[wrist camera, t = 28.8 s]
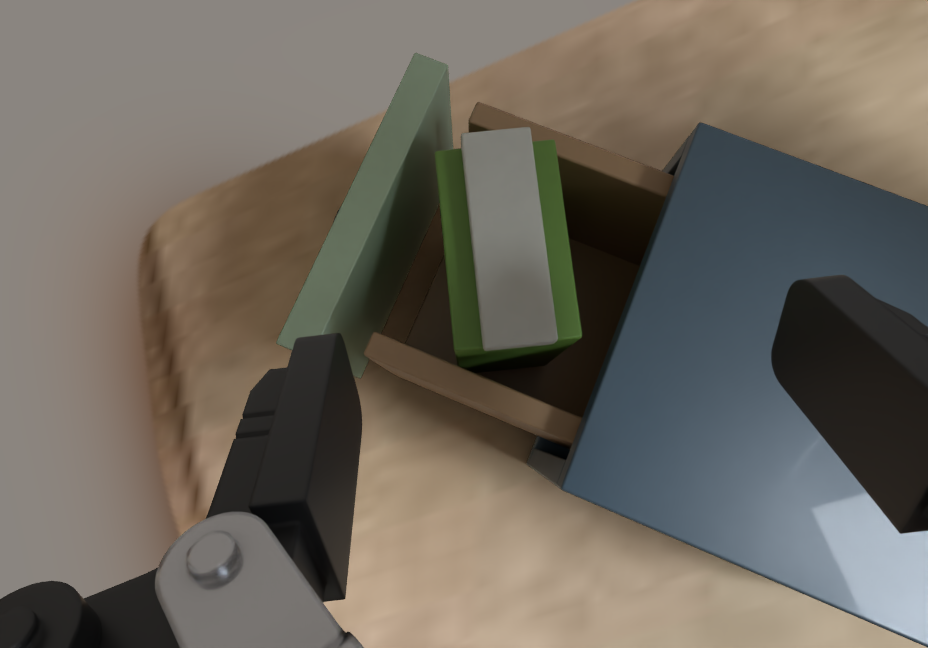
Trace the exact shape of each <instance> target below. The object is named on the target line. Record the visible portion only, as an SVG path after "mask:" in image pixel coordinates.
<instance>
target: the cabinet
mask: <svg viewBox="0 0 928 648" xmlns="http://www.w3.org/2000/svg"><path fill="white" fill-rule="evenodd" d="M662 172H665V173H668V174H670V175H673V176H674V178H673V180H672V183H671V186H670V188H669V191H668V194H667V196H666V199H665V201H664V204H663V207H662V209H661V212H660V215H659V217H658V220H657V223H656V225H655V228H654V230H653V233H652V236H651V238H650V241H649V244H648V246H647V249H646V251H645V254H644V257H643V259H642V262H641V265H640V267H639V270H638V273H637V275H636V278H635V280H634V283H633V286H632V288H631V291H630V294H629V296H628V299H627V301H626V304H625V307H624V309H623V312H622V315H621V317H620V320H619V323H618V325H617V328H616V330H615V333H614V336H613V338H612V341H611V344H610V346H609V349H608V351H607V354H606V357H605V359H604V362H603V365H602V367H601V370H600V373H599V375H598V378H597V380H596V383H595V386H594V388H593V391H592V394H591V396H590V399H589V401H588V404H587V407H586V409H585V412H584V415H583V417H582V420H581V423H580V425H579V428H578V430H577V433H576V436H575V438H574V441H573V444H572V446H571V449H568V448H565V447H563V446H561V445H558V444H556V443H554V442H551V441H549V440H547V439H544V438H542V437H539V436H537V437H536V440H535V443H534V445H533V448H532V450H531V453H530V455H529V458H528V460H527V465H528V466H530V467H531V468H532V469H534V470H535V471H537V472H538V473H539V474H541V475H542V476H543V477H545V478H546V479H548V480H549V481H550V482H552V483H553V484H555V485H556V486H557V487H559V488H560V489H561V490H563V491H565V492H567V493H570V494H572V495H574V496H577V497H579V498H581V499H584V500H586V501H588V502H591V503H593V504H595V505H598V506H600V507H602V508H605V509H607V510H609V511H612V512H614V513H616V514H619V515H621V516H623V517H626V518H628V519H630V520H633V521H635V522H637V523H640V524H642V525H644V526H647V527H649V528H651V529H654V530H656V531H658V532H661V533H663V534H665V535H668V536H670V537H672V538H675V539H677V540H679V541H681V542H684V543H686V544H688V545H691V546H693V547H695V548H698V549H700V550H702V551H705V552H707V553H709V554H712V555H714V556H716V557H719V558H721V559H723V560H726V561H728V562H730V563H733V564H735V565H737V566H740V567H742V568H744V569H747V570H749V571H751V572H754V573H756V574H758V575H761V576H763V577H765V578H768V579H770V580H772V581H775V582H777V583H779V584H782V585H784V586H786V587H789V588H791V589H793V590H796V591H798V592H800V593H803V594H805V595H807V596H810V597H812V598H814V599H816V600H819V601H821V602H823V603H826V604H828V605H830V606H833V607H835V608H837V609H840V610H842V611H844V612H847V613H849V614H851V615H854V616H856V617H858V618H861V619H863V620H865V621H868V622H870V623H872V624H875V625H877V626H879V627H882V628H884V629H886V630H889V631H891V632H893V633H896V634H898V635H900V636H903V637H905V638H907V639H910V640H912V641H914V642H917V643H919V644H921V645H924V646H926V647H928V531H920V532H911V533H903V534H900V533H899V532H898V530H897V529H896V528H895V527H894V525H893V524H892V523H891V522H890V520H889V519H888V518H887V517H886V515H885V514H884V513H883V512H882V510H881V509H880V508H879V507H878V505H877V504H876V503H875V502H874V500H873V499H872V498H871V497H870V495H869V494H868V493H867V492H866V490H865V489H864V488H863V487H862V485H861V484H860V483H859V482H858V480H857V479H856V478H855V477H854V476H853V474H852V473H851V472H850V471H849V469H848V468H847V467H846V466H845V464H844V463H843V462H842V461H841V459H840V458H839V457H838V456H837V454H836V453H835V452H834V451H833V449H832V448H831V447H830V446H829V444H828V443H827V442H826V441H825V439H824V438H823V437H822V436H821V434H820V433H819V432H818V431H817V429H816V428H815V427H814V426H813V424H812V423H811V422H810V421H809V419H808V418H807V417H806V416H805V415H804V413H803V412H802V411H801V410H800V408H799V407H798V406H797V405H796V403H795V402H794V401H793V400H792V398H791V397H790V396H789V395H788V393H787V392H786V391H785V390H784V388H783V387H782V386H781V385H780V383H779V382H778V380H777V378H776V376H775V374H774V371H773V368H772V362H771V351H772V346H773V343H774V339H775V335H776V332H777V328H778V325H779V321H780V317H781V314H782V310H783V307H784V303H785V299H786V296H787V292H788V290H789V288H790V286H791V285H792V283H793V282H795V281H796V280H800V279H808V278H817V277H825V276H834V275H846V276H848V277H850V278H851V279H853V280H854V281H855V282H856V283H858V284H859V285H860V286H861V287H863V288H864V289H865V290H866V291H868V292H869V293H870V294H871V295H872V296H874V297H875V298H876V299H879V300H881V301H884V302H886V303H888V304H890V305H892V306H894V307H897V308H899V309H901V310H903V311H905V312H908V313H910V314H912V315H913V316H914V317H915V318H917V319H918V320H919V321H921V322H922V323H923V324H924V325H926V326H927V327H928V206H926V205H923V204H920V203H918V202H915V201H912V200H909V199H907V198H904V197H901V196H899V195H896V194H893V193H891V192H888V191H885V190H882V189H880V188H877V187H874V186H872V185H869V184H866V183H864V182H861V181H858V180H855V179H853V178H850V177H847V176H845V175H842V174H839V173H837V172H834V171H831V170H828V169H826V168H823V167H820V166H818V165H815V164H812V163H809V162H807V161H804V160H801V159H799V158H796V157H793V156H791V155H788V154H785V153H782V152H780V151H777V150H774V149H772V148H769V147H766V146H764V145H761V144H758V143H755V142H753V141H750V140H747V139H745V138H742V137H739V136H737V135H734V134H731V133H728V132H726V131H723V130H720V129H718V128H715V127H712V126H710V125H707V124H704V123H699V124H698V125H697V126H696V127H695V129H694V130H693V131H692V133H691V134H690V136H688V138H687V139H686V140H685V142H684V143H683V144H682V146H681V147H680V148H679V149H678V151H677V152H676V153H675V155H674V156H673V157H672V159H671V160H670V161H669V163H668V164H667V165H666V167H665V168H664V169H663V170H662Z"/></svg>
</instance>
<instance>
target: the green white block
mask: <svg viewBox="0 0 928 648" xmlns="http://www.w3.org/2000/svg"><path fill="white" fill-rule="evenodd" d="M435 163H436V173H437V183H438V193H439V203H440V214H441V224H442V234H443V244H444V254H445V264H446V274H447V284H448V294H449V304H450V314H451V324H452V334H453V345H454V351H455V356H456V361H457V365H458V366H459V367H461V368H464V369H466V370H469V371H471V372H473V373H479V372H489V371H499V370H508V369H518V368H528V367H538V366H545V365H547V364H548V363H549V362H550V361H552V360H553V359H554V358H556V357H557V356H558V355H560V354H561V353H562V352H563V351H565V350H566V349H567V348H569V347H570V346H571V345H573V344H574V343H575V342H576V341H578V340H579V339H580V338H582V330H581V323H580V316H579V308H578V301H577V294H576V287H575V280H574V272H573V265H572V258H571V251H570V244H569V236H568V229H567V222H566V215H565V208H564V200H563V193H562V186H561V179H560V172H559V164H558V157H557V150H556V143H555V140H553V139H552V140H542V141H532V136H531V129H530V128H529V127H521V128H511V129H501V130H491V131H481V132H471V133H463V134H461V149H451V150H441V151H436V152H435Z"/></svg>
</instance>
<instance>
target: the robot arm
mask: <svg viewBox="0 0 928 648" xmlns="http://www.w3.org/2000/svg"><path fill="white" fill-rule="evenodd" d="M771 362H772V368H773V371H774V374H775V376H776V378H777V380H778V382H779V383H780V385H781V386H782V387H783V388H784V390H785V391H786V392H787V393H788V395H789V396H790V397H791V398H792V400H793V401H794V402H795V403H796V405H797V406H798V407H799V408H800V410H801V411H802V412H803V413H804V415H805V416H806V417H807V418H808V419H809V421H810V422H811V423H812V424H813V426H814V427H815V428H816V429H817V431H818V432H819V433H820V434H821V436H822V437H823V438H824V439H825V441H826V442H827V443H828V444H829V446H830V447H831V448H832V449H833V451H834V452H835V453H836V454H837V456H838V457H839V458H840V459H841V461H842V462H843V463H844V464H845V466H846V467H847V468H848V469H849V471H850V472H851V473H852V474H853V476H854V477H855V478H856V479H857V480H858V482H859V483H860V484H861V485H862V487H863V488H864V489H865V490H866V492H867V493H868V494H869V495H870V497H871V498H872V499H873V500H874V502H875V503H876V504H877V505H878V507H879V508H880V509H881V510H882V512H883V513H884V514H885V515H886V517H887V518H888V519H889V520H890V522H891V523H892V524H893V525H894V527H895V528H896V529H897V530H898V532H899V533H900V534H903V533H911V532H920V531H928V327H927V326H926V325H924V324H923V323H922V322H921V321H919V320H918V319H917V318H915V317H914V316H913V315H912V314H910V313H908V312H905V311H903V310H901V309H899V308H897V307H894V306H892V305H890V304H888V303H886V302H884V301H881V300H879V299H876V298H875V297H874V296H872V295H871V294H870V293H869V292H868V291H866V290H865V289H864V288H863V287H861V286H860V285H859V284H858V283H856V282H855V281H854V280H853V279H851V278H850V277H848V276H846V275H834V276H825V277H817V278H808V279H800V280H796V281H795V282H793V283H792V285H791V286H790V288H789V290H788V292H787V296H786V299H785V303H784V307H783V310H782V314H781V317H780V321H779V325H778V328H777V332H776V335H775V339H774V343H773V346H772V351H771ZM242 415H243V419H241V420H240V423H239V426H238V429H237V432H236V439H234V440H233V443H232V446H231V449H230V452H229V455H228V457H227V460H226V463H225V466H224V469H223V472H222V475H221V478H220V480H219V483H218V486H217V489H216V492H215V495H214V498H213V501H212V503H211V506H210V509H209V512H208V515H207V517H206V519H205V520H203V521H201V522H199V523H197V524H196V525H194V526H193V527H191V528H190V529H188V530H187V531H186V532H184V533H183V534H182V535H181V536H180V537H179V538H178V539H177V540H176V541H175V542H174V543H173V544H172V545H171V547H170V548H169V549H168V551H167V552H166V553H165V555H164V557H163V559H162V560H161V562H160V564H159V567H158V568H156V569H155V570H152V571H150V572H148V573H146V574H144V575H141V576H139V577H137V578H134V579H132V580H129V581H126V582H124V583H122V584H119V585H117V586H114V587H112V588H109V589H107V590H104V591H102V592H99V593H97V594H94V595H92V596H89V597H87V598H84V599H83V598H82V597H81V596H80V594H79V593H78V592H77V591H76V590H75V589H74V588H73V587H72V586H70V585H68V584H66V583H63V582H57V581H48V582H40V583H36V584H32V585H29V586H26V587H24V588H21V589H18V590H16V591H15V592H12V593H10V594H8V595H7V596H5V597H3V598H2V599H0V648H364V647H363V646H362V645H361V644H360V642H359V641H358V640H357V639H356V638H355V637H354V636H353V635H352V634H351V633H350V632H347V633H346V632H344V631H343V629H342V628H341V627H340V626H339V625H338V623H337V622H336V620H335V619H334V618H333V616H332V615H331V613H330V612H329V611H328V609H327V608H326V606H325V605H324V604H323V602H325V601H334V600H342V599H345V595H346V585H347V575H348V565H349V555H350V545H351V535H352V525H353V515H354V505H355V495H356V485H357V475H358V465H359V455H360V445H361V435H362V413H361V405H360V399H359V395H358V391H357V387H356V384H355V380H354V376H353V372H352V369H351V365H350V361H349V357H348V354H347V350H346V346H345V343H344V340H343V337H342V335H341V334H340V333H332V334H324V335H316V336H307V337H299V338H297V339H296V340H295V343H294V346H293V349H292V353H291V356H290V360H289V364H288V367H287V368H279V369H270V370H269V371H268V372H267V373H266V374H265V375H264V376H263V378H262V379H261V380H260V381H259V382H258V383H257V384H256V386H255V387H254V388H253V389H252V390H251V391H250V394H249V397H248V400H247V403H246V406H245V409H244V411H243V414H242Z"/></svg>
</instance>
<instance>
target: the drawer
mask: <svg viewBox="0 0 928 648" xmlns="http://www.w3.org/2000/svg"><path fill="white" fill-rule="evenodd" d="M521 127H529V128H530V129H531V136H532V141H542V140H552V139H553V140H555V143H556V150H557V157H558V164H559V172H560V179H561V186H562V193H563V200H564V208H565V215H566V222H567V229H568V236H569V244H570V251H571V258H572V265H573V272H574V280H575V287H576V294H577V301H578V308H579V316H580V323H581V330H582V338H580V339H579V340H578V341H576V342H575V343H574V344H573V345H571V346H570V347H569V348H567V349H566V350H565V351H563V352H562V353H561V354H560V355H558V356H557V357H556V358H554V359H553V360H552V361H550V362H549V363H548V364H547V365H545V366H538V367H528V368H518V369H508V370H499V371H489V372H479V373H473V372H471V371H469V370H466V369H464V368H461V367H459V366H458V365H457V361H456V356H455V351H454V345H453V334H452V324H451V314H450V304H449V294H448V284H447V274H446V264H445V254H444V256H443V258H442V261H441V263H440V265H439V268H438V270H437V272H436V274H435V277H434V279H433V281H432V283H431V286H430V288H429V290H428V293H427V295H426V297H425V299H424V302H423V304H422V306H421V308H420V311H419V313H418V315H417V317H416V320H415V322H414V324H413V327H412V329H411V331H410V333H409V336H408V338H407V340H406V342H405V344H404V343H402V342H399V341H397V340H394V339H392V338H390V337H387V336H385V335H382V334H381V332H382V330H383V328H384V326H385V324H386V321H387V319H388V317H389V315H390V312H391V310H392V308H393V306H394V303H395V301H396V299H397V297H398V295H399V292H400V290H401V288H402V286H403V283H404V281H405V279H406V277H407V275H408V272H409V270H410V268H411V266H412V263H413V261H414V259H415V257H416V254H417V252H418V250H419V248H420V246H421V243H422V241H423V239H424V237H425V234H426V232H427V230H428V228H429V226H430V223H431V221H432V219H433V217H434V214H435V212H436V210H437V208H438V206H439V193H438V183H437V173H436V163H435V152H436V151H441V150H451V149H453V139H452V122H451V106H450V90H449V74H448V65H447V64H444V63H441V62H439V61H436V60H434V59H431V58H428V57H426V56H423V55H420V54H418V53H415V54H414V56H413V58H412V60H411V62H410V64H409V66H408V68H407V70H406V72H405V74H404V76H403V79H402V81H401V83H400V85H399V87H398V89H397V91H396V93H395V95H394V97H393V100H392V102H391V104H390V106H389V108H388V110H387V112H386V114H385V116H384V118H383V120H382V122H381V124H380V127H379V129H378V131H377V133H376V135H375V137H374V139H373V141H372V143H371V145H370V147H369V150H368V152H367V154H366V156H365V158H364V160H363V162H362V164H361V166H360V168H359V170H358V173H357V175H356V177H355V179H354V181H353V183H352V185H351V187H350V189H349V191H348V193H347V195H346V198H345V200H344V202H343V204H342V206H341V207H340V209H339V210H338V212H337V214H336V216H335V219H334V222H333V225H332V227H331V229H330V231H329V233H328V235H327V237H326V239H325V241H324V243H323V246H322V248H321V250H320V252H319V254H318V256H317V258H316V260H315V262H314V264H313V266H312V269H311V271H310V273H309V275H308V277H307V279H306V281H305V283H304V285H303V287H302V289H301V291H300V294H299V296H298V298H297V300H296V302H295V304H294V306H293V308H292V310H291V312H290V314H289V317H288V319H287V321H286V323H285V325H284V327H283V329H282V331H281V333H280V335H279V337H278V339H277V342H276V343H277V344H278V345H280V346H283V347H285V348H287V349H290V350H292V349H293V346H294V343H295V340H296V339H297V338H299V337H307V336H316V335H324V334H332V333H340V334H341V335H342V337H343V340H344V343H345V346H346V350H347V354H348V357H349V361H350V365H351V369H352V372H353V376H355V377H358V378H361V377H362V375H363V372H364V370H365V368H366V366H367V364H368V361H369V359H371V360H372V361H374V362H375V363H377V364H378V365H380V366H382V367H383V368H385V369H386V370H388V371H389V372H391V373H392V374H394V375H395V376H398V377H400V378H403V379H405V380H407V381H410V382H412V383H414V384H417V385H419V386H421V387H424V388H426V389H428V390H431V391H433V392H436V393H438V394H440V395H443V396H445V397H447V398H450V399H452V400H454V401H457V402H459V403H462V404H464V405H466V406H469V407H471V408H473V409H476V410H478V411H480V412H483V413H485V414H488V415H490V416H492V417H495V418H497V419H499V420H502V421H504V422H506V423H509V424H511V425H514V426H516V427H518V428H521V429H523V430H525V431H528V432H530V433H532V434H535V435H537V436H539V437H542V438H544V439H547V440H549V441H551V442H554V443H556V444H558V445H561V446H563V447H565V448H568V449H571V446H572V444H573V441H574V438H575V436H576V433H577V430H578V428H579V425H580V423H581V420H582V417H583V415H584V412H585V409H586V407H587V404H588V401H589V399H590V396H591V394H592V391H593V388H594V386H595V383H596V380H597V378H598V375H599V373H600V370H601V367H602V365H603V362H604V359H605V357H606V354H607V351H608V349H609V346H610V344H611V341H612V338H613V336H614V333H615V330H616V328H617V325H618V323H619V320H620V317H621V315H622V312H623V309H624V307H625V304H626V301H627V299H628V296H629V294H630V291H631V288H632V286H633V283H634V280H635V278H636V275H637V273H638V270H639V267H640V265H641V262H642V259H643V257H644V254H645V251H646V249H647V246H648V244H649V241H650V238H651V236H652V233H653V230H654V228H655V225H656V223H657V220H658V217H659V215H660V212H661V209H662V207H663V204H664V201H665V199H666V196H667V194H668V191H669V188H670V186H671V183H672V180H673V178H674V176H673V175H670V174H668V173H665V172H662V171H660V170H657V169H655V168H652V167H649V166H647V165H644V164H641V163H639V162H636V161H633V160H631V159H628V158H626V157H623V156H620V155H618V154H615V153H612V152H610V151H607V150H604V149H602V148H599V147H597V146H594V145H591V144H589V143H586V142H583V141H581V140H578V139H575V138H573V137H570V136H567V135H565V134H562V133H560V132H557V131H554V130H552V129H549V128H546V127H544V126H541V125H538V124H536V123H533V122H531V121H528V120H525V119H523V118H520V117H517V116H515V115H512V114H509V113H507V112H504V111H502V110H499V109H496V108H494V107H491V106H488V105H486V104H483V103H480V102H477V104H476V105H475V108H474V110H473V112H472V114H471V116H470V119H469V133H471V132H481V131H491V130H501V129H511V128H521Z"/></svg>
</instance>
